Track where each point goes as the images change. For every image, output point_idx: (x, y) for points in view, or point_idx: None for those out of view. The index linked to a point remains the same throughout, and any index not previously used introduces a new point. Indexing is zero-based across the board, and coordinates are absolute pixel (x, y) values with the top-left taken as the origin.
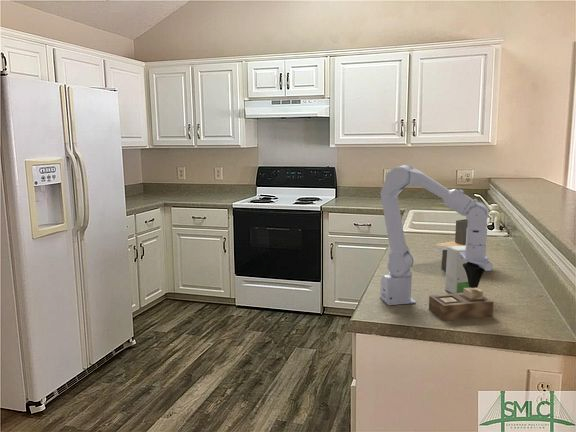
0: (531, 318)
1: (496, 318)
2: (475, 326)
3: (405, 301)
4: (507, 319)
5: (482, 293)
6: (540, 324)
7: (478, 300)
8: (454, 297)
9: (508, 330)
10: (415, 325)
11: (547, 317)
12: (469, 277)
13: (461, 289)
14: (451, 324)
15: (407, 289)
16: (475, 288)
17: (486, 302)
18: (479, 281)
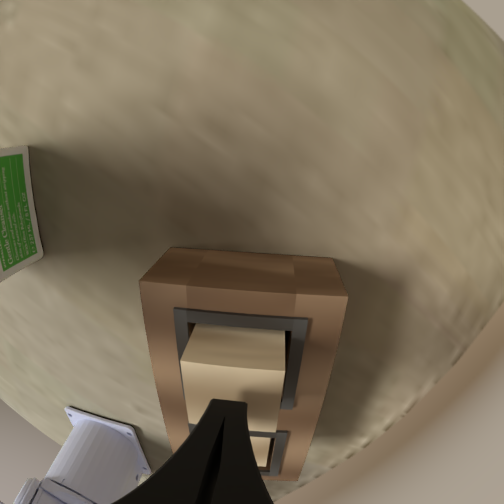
0: (418, 86)
1: (365, 259)
2: (388, 381)
3: (135, 450)
4: (395, 215)
5: (284, 361)
6: (479, 114)
7: (299, 367)
8: None
9: (470, 294)
10: (299, 483)
11: (419, 10)
12: (212, 493)
13: (22, 232)
14: (336, 431)
15: (120, 477)
16: (209, 377)
17: (338, 338)
18: (249, 437)
